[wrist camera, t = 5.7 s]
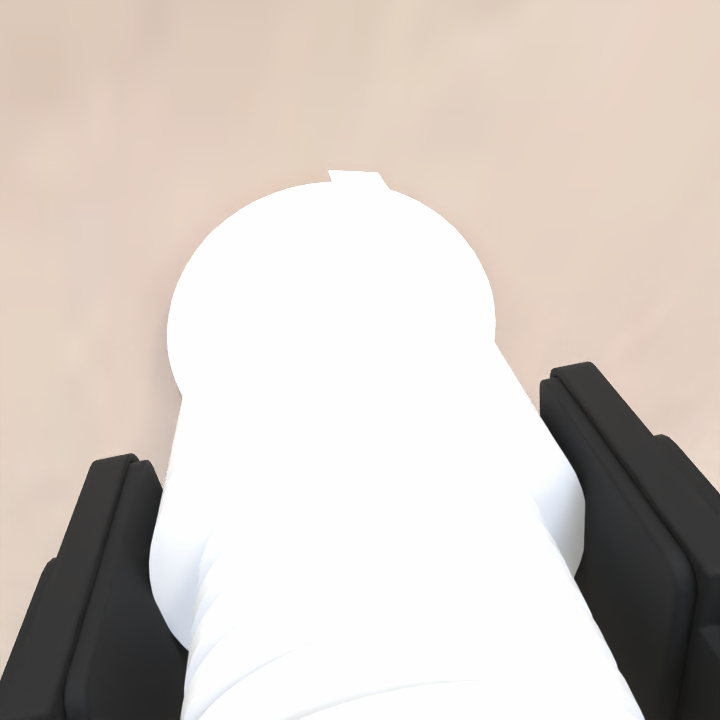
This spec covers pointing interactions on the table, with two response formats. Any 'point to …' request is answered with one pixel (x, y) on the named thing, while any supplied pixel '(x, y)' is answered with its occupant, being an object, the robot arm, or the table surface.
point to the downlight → (365, 481)
